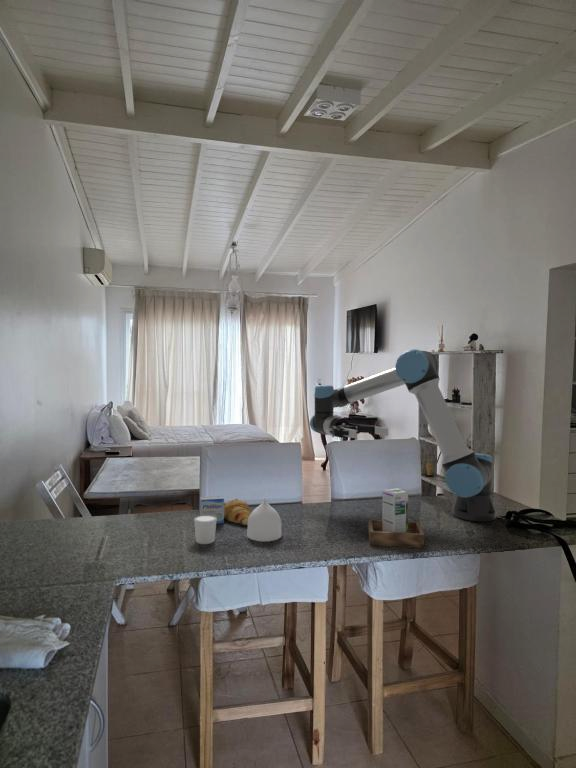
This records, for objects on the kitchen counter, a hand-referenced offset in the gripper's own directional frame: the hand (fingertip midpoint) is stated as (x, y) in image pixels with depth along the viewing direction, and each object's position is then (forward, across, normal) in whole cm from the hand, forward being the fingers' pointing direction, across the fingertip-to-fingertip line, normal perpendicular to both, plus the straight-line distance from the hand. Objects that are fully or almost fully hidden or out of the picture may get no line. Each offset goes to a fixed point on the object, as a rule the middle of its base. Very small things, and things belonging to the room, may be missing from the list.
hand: (371, 433), depth 173 cm
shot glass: (-8, +57, -31) cm, 66 cm away
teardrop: (-4, +39, -31) cm, 50 cm away
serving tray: (+17, +4, -31) cm, 36 cm away
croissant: (-25, +40, -31) cm, 57 cm away
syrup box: (+17, +4, -30) cm, 35 cm away
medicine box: (-24, +49, -31) cm, 63 cm away
